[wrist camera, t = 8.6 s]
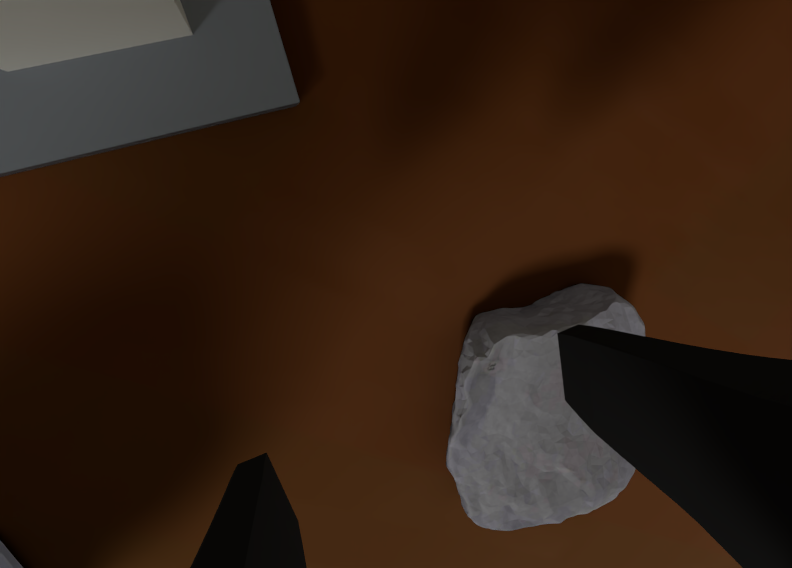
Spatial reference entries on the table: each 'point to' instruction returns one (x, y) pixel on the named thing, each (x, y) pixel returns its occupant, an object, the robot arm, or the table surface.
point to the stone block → (531, 415)
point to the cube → (82, 28)
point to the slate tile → (147, 88)
